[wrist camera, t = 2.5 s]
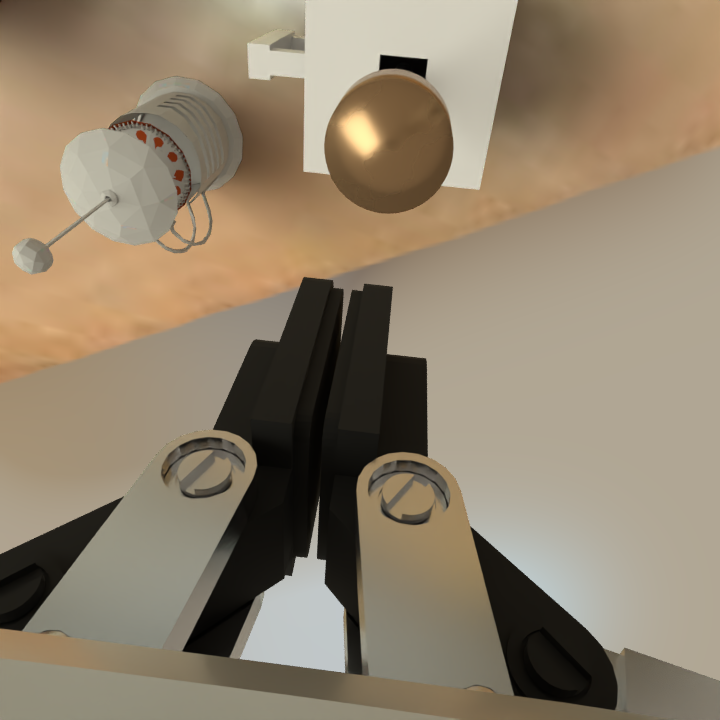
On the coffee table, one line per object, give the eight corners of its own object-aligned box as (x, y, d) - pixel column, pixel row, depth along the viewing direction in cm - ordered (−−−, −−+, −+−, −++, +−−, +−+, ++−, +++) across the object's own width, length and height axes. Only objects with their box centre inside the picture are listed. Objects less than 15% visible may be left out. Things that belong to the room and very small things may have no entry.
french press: (203, 54, 45) (22, 134, 25) (273, 185, 51) (173, 335, 31) (110, 106, 48) (-116, 214, 28) (186, 224, 54) (44, 383, 34)
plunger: (448, 31, 34) (464, 86, 20) (435, 117, 37) (442, 219, 23) (368, 24, 34) (326, 73, 20) (362, 110, 37) (322, 206, 23)
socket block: (497, -32, 40) (523, -27, 29) (467, 136, 47) (479, 189, 36) (281, -51, 40) (230, -53, 30) (283, 118, 47) (242, 165, 37)
